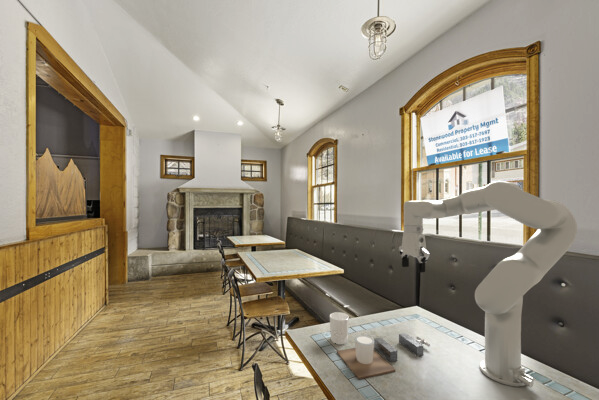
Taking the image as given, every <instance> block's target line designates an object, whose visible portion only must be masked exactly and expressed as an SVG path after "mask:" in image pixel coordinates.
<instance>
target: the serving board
mask: <svg viewBox="0 0 599 400" xmlns="http://www.w3.org/2000/svg"><path fill="white" fill-rule="evenodd" d="M336 354H337V355H338V357H340V359H341V360H342V361H343V362H344V364H346V366H347V367H348V368H349V370H350V371H351V372H352V373H353V375H354V376H355V377H356V378H357V380H362V379H363V380H365V379H367V378H368V379H369V378H371V377H372V378H373V377H376V376H382V375H386V374H389V373H394V372H396V369H395V367H393V366H392V365H391V363H389V361H387V359H386V358H383V356H382V355H380V354H379V352H377V350H376V349H374V351H373V362H372V363H370V364H362V363H360V362H359V361H357V358H356V347H352V348H347V349H342V350H336Z"/></svg>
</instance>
